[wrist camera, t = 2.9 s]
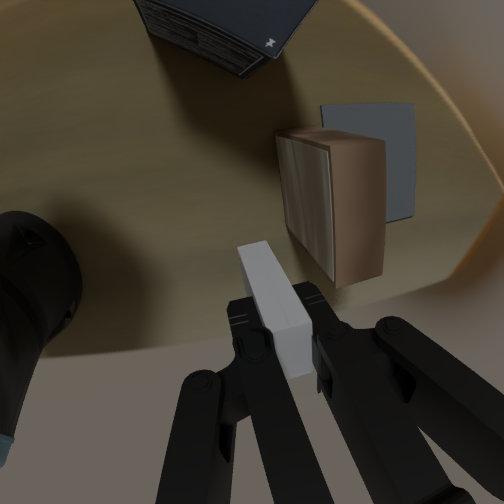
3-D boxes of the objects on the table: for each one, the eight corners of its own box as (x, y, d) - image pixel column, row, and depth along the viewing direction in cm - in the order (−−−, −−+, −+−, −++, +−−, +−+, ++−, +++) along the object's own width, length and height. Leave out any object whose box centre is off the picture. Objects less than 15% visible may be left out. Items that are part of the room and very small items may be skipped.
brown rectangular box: (285, 226, 31) (335, 289, 21) (273, 130, 27) (329, 146, 16) (321, 218, 32) (382, 274, 21) (313, 125, 27) (385, 140, 17)
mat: (330, 233, 33) (331, 235, 33) (320, 105, 26) (321, 105, 26) (412, 214, 34) (413, 215, 34) (412, 103, 28) (413, 103, 27)
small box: (280, 29, 22) (327, -5, 13) (244, 81, 24) (277, 65, 15) (183, -19, 18) (184, -75, 9) (144, 33, 20) (121, -7, 11)
